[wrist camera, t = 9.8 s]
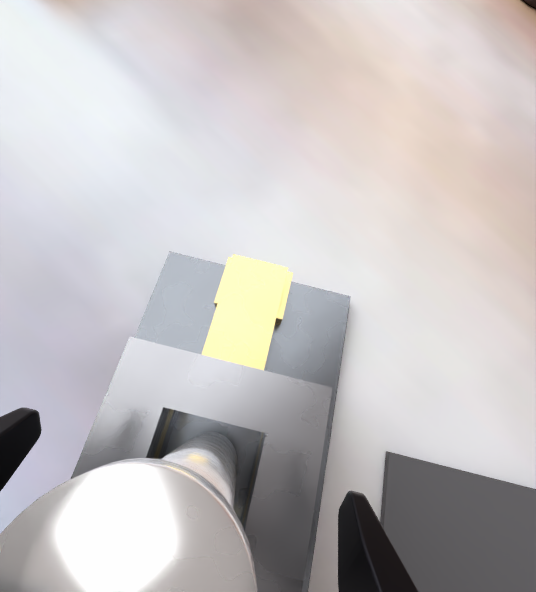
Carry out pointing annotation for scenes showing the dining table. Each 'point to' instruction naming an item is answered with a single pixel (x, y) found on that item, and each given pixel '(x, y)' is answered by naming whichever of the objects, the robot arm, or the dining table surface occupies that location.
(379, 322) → the dining table surface
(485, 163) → the dining table surface
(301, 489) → the windowed slide housing
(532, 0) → the bottle
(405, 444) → the dining table surface
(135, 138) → the dining table surface
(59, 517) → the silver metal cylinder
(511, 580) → the rubber mat
